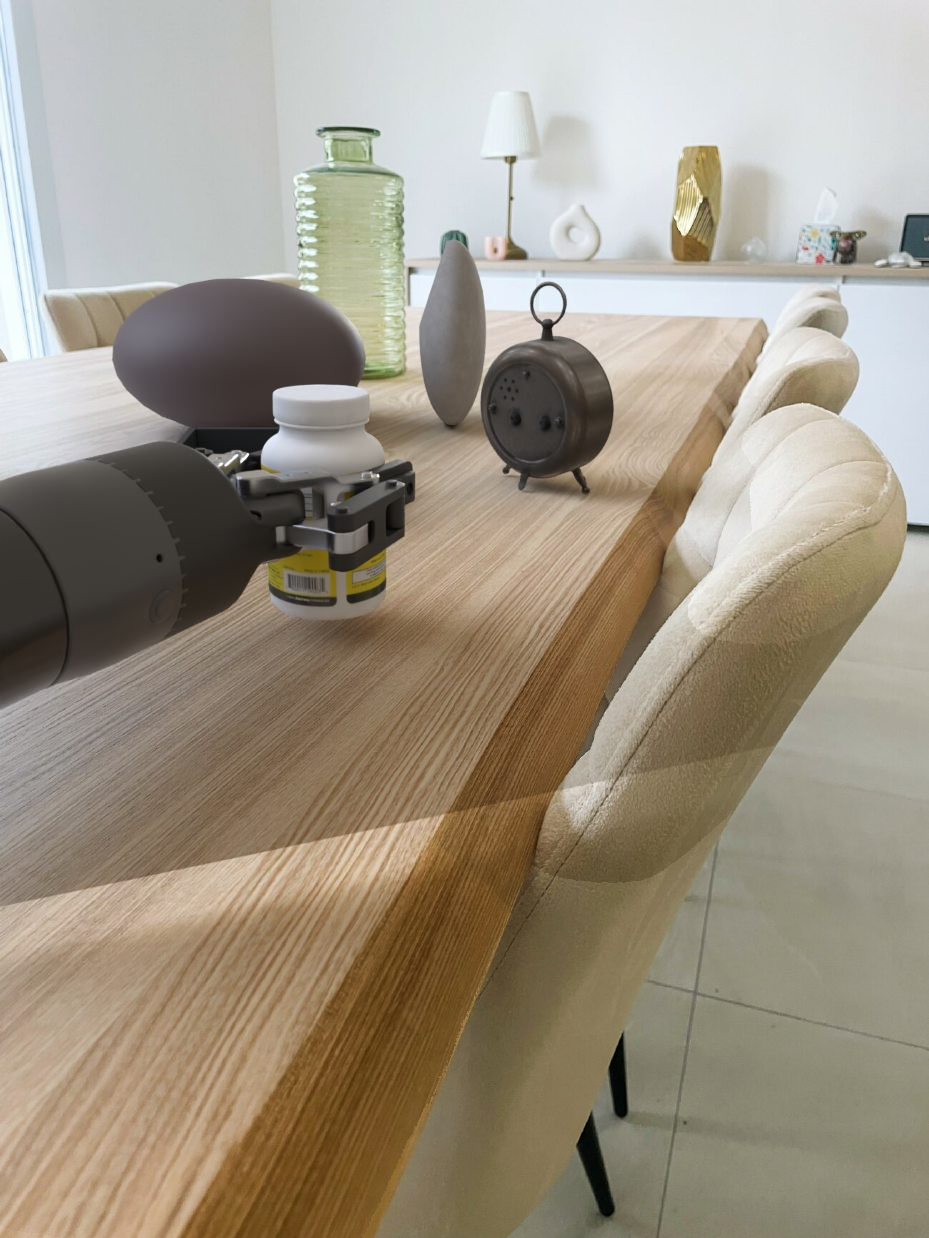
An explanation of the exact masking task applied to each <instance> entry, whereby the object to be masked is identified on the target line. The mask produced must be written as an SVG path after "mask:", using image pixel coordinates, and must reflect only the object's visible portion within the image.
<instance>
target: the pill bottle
mask: <svg viewBox="0 0 929 1238" xmlns="http://www.w3.org/2000/svg"><path fill="white" fill-rule="evenodd" d="M370 398H371V397H370V392H369V390H367V389H365V388H362V387H359V386H357V387H353V386H345V385H301V386H291V387H284V388H280V389H277V390H275V391H274V392H273V415H274V417H275V419H274V421H275V422H276V423H277V424H279V425H280V429H279V432H278V433H277V434H275V435H274V436H272V437H271V438H270V439H269V440H268V441H267V442H266V444H265V445H264V447H263V450H262V454H261V469H262V470H265V471H267V472H269V473H271V474H275V473H283V472H290V471H298V470H306V469H314V468H321V469H323V470H325V471H327V472H329V473H332V474H334V475H335V476H342V475H350V474H357V473H361V472H364V471H366V470H369V469H372V468H375V467H377V466H380V465H383V464H386V457H385V451H384V448H383V446H382V444H381V442H380V441H379V440H378V439H377V438H376V437H375V436H373V435H372V434H370V433H368V432H367V431H366V424H367V423H369V421H370V416H371V400H370ZM300 490H301V491H302V493H303V494H304V497H305V513H306V520H313V506H312V488H311V487H310V488H303V489H300ZM353 496H354V491H351V492H344V493H342V494H341V495H340V496H339V499H338V502H341V503H342V502H344V501H346V500H348V499H350V498H352V497H353ZM266 564H267V576H268V577H267V580H268V591H269V599H270V600H271V603H272V604H273V606H274V607H275V608H276V609H277V610H279V611H280V612H281V613H283V614H285V615H287V616H288V617H289V616H290V617H293V618H295V619H302V620H307V621H309V620H310V621H319V622H320V621H322V622H323V621H341V620H349V619H354V618H358V617H362V616H365V615H367V614H369V613H371V612H373V611H374V610H376V609H377V608H379V606H380V605H381V604H382V603H383V602H384V600H385V598H386V595H387V548H386V549H385V550H383V551H382V552H380V553H379V554H377V555H376V556H374V557H373V558H371V559H370V560H369V561H367V562H366V563H364V564H363V565H361V566H360V567H358V568H357V569H355V570H352V571H348V572H339V571H333V570H331V569H329V560H328V551H323V550H317V549H314V550H309V551H303V552H298V553H297V554H295V555H293V556H290V557H286V558H282V559H281V560H279V561H277V562H272V563H266Z"/></svg>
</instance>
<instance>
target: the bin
mask: <svg viewBox="0 0 929 1238" xmlns="http://www.w3.org/2000/svg"><path fill="white" fill-rule="evenodd" d="M279 429H280V427H197V428H196V427H189V428H187V430H186V431H185V432H184V433H183V434H181V436H180V438H178V440H177V441H175V443H180V444H183V445H186V446H189V447H191V448H193V449H196V448H205V449H208V450H212V451H213V454H225V453H228V452H231V451H233V450H240V451H241V452H247V453H248V454H250V453H253V452H257V451H260V450H263V447H264V445H265V444H266V442H267V441H268V440H269V439H270V438H271V437H272V436H274V435H275V434H277V433H278V432H279Z"/></svg>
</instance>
